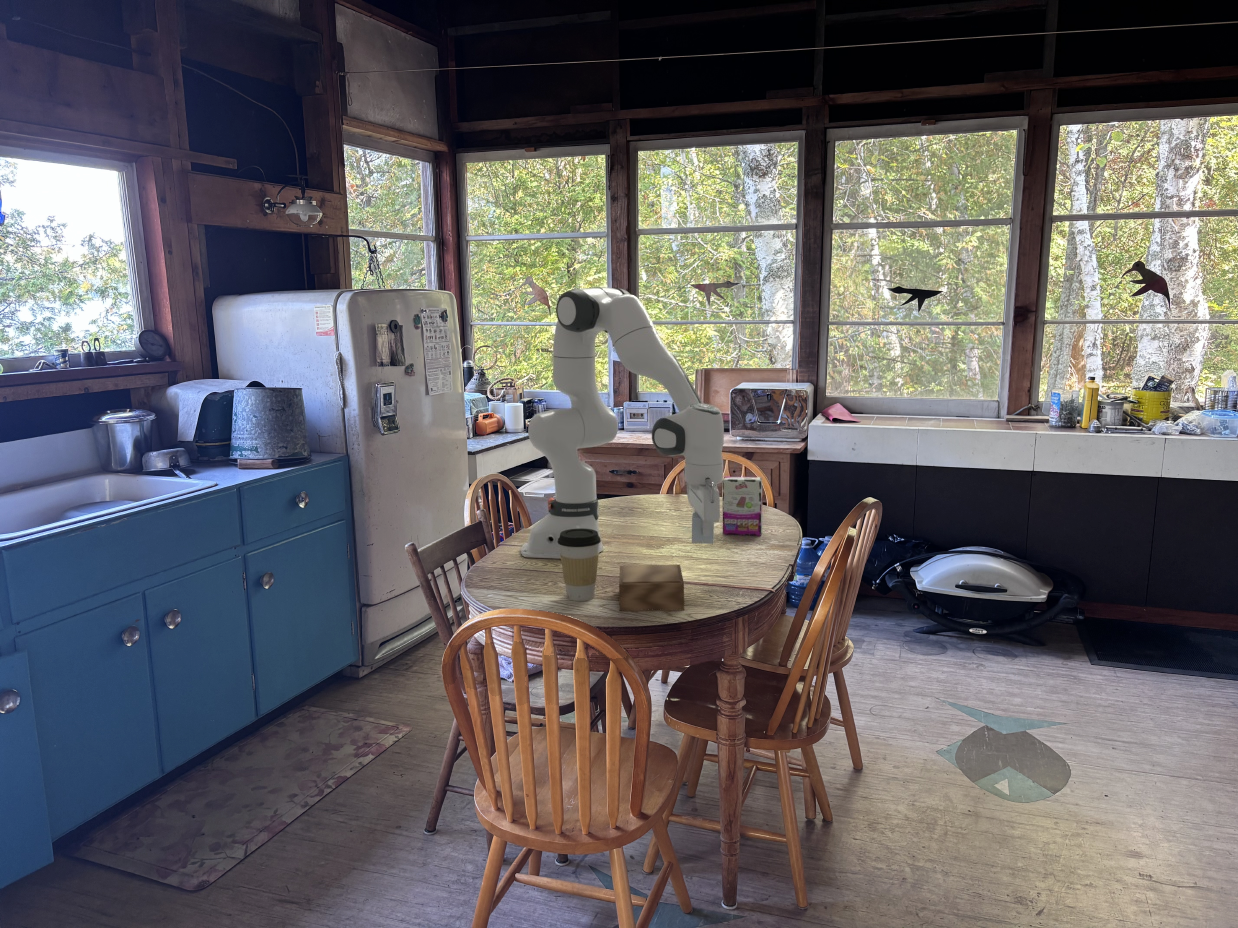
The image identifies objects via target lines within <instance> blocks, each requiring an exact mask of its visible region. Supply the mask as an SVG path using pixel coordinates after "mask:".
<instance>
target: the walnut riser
mask: <svg viewBox="0 0 1238 928" xmlns="http://www.w3.org/2000/svg"><path fill="white" fill-rule="evenodd" d="M682 572H683V571H682V568H681V564H676V563H675V564H627V565H626V564H622V565H619V573H618V574H619V576H618V596H619V601H618V602H619V612H634V611H635V612H643V611H644V612H645V611H646V612H647V611H650V612H651V611H652V612H653V611H684V610H685V583H684V577H683V573H682Z"/></svg>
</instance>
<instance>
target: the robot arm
mask: <svg viewBox="0 0 1238 928" xmlns="http://www.w3.org/2000/svg"><path fill="white" fill-rule="evenodd" d="M555 315H556V318H557V321H556V325H555V329H554V336H553V345H552V346H553V347H552V350H553V351H552V376H553V377H552V382H553V384H554V386H555V388H556V389H557V390H558V391H559V392H561V393H562V394H564V395H567V396H568V397H569V399H570V404H571V405H570V408H569V407H568V408H558V409H549V410H545V411H542V412H539V413H537V414H535V415H533V416H532V418H531V419H530V421H529V424H528V428H527V431H528V432H527V434H528V438H529V441H530V443H531V444H532V446H533V447H534V448H535V449H537V450H538V451H539V452H541V453H542V454H543V455H544V457H546V459H547V460H548V462H549V464H550V467H551V469H552V472H553V480H554V491H555V498H553V497H550V498H549V499H548V501H547V508H548V509H547V510H548V511H547V512H548V513H547V514H546V515H545V516H543V518H541V519H540V520H539V521H537V522H536V523H535V524H534V525H533V526H532V527H531V529H530V531H529V535H528V541H527V542H525V543H524V544H523V545H522V546H521V547H520V555H521V554H522V555H521V556H522V557H524V558H535V559H536V558H538V559H560V560H561V556H560V554H561V551H560V544H558V538H559V537H560V533H561V532H562V531H565V530H569V529H578V528H584V529H592V530H595V531H597V532H598V535H599V537H600V539H601V534H600V528H599V516H600V510H599V508H600V507H599V499H598V498H597V474H596V471H595V469H594V468H593V467H592V466H591V465H590V464H588V463H586V462H584V461H582V460H580V458H579V453H578V449H586V448H593V447H600V446H602V445H605V444H608V443H610V442H613V441H614V440H615V438H616V437H617V436H618V432H619V420H618V418H617V415H616V413H615V412H614V411H613V409H611V408H609V407H608V406H607V405H606V404H605V403H604V401H603V399H602V398H601V396H600V393H599V390H598V387H597V381H596V380H597V378H596V339H597V336H598V335H599V334H600V333H601V332H604V333H605V334H607V333H608V335H609V337H610V340H611V343H612V345H613V349H614V350H615V354H616V356H617V358H618V360H619V361H620V363H621V364H622V365H623V367H624V368H625V370H627V371H629V372H630V373H632V374H635V375H638V376H643V377H645V378H648V379H651V380H653V381H656V382H657V383H659V384H660V385H661V386H663V387H664V388H665V390H666V391H667V392H668V394H669V397H670V398H671V399H672V401H673V403H674V405H675V407H676V408H677V410H678V412H677V413H675V414H669V415H667V416H664V417H661V418H658V419H657V420H656V421H655V423H654V424H653V427H652V429H651V441H652V444H653V447H654V448H655V449H656V451H657V452H658V453H659V454H660V455H662V456H664V457H665V456H666V457H667V456H668V457H675V456H683V457H684V460H685V461H684V467H683V474H684V482H685V483H686V495H687V501H688V503H689V504H690V506H691V507H692V508H693V513H698V515H699V516H700V517H701V519H702V522H703V524H702V535H703V536H710V529H711V526H712V523H714V524H715V523H719V522H720V520H721V519H720V517H721V512H720V511H721V504H720V503H721V501H720V499H721V498H720V491H719V489H718V484H722V482H723V479H724V457H723V453H722V452H723V451H722V450H723V447H724V442H725V429H724V427H725V425H724V419H723V414H722V411H721V409H720V408H718V407H717V406H715V405H713V404H709V403H703V401H702V399H701V398H700V396H699V394H698V392H697V391H696V389H695V387H694V385H693V383H692V382H691V380H690V377H688V374H687V372H686V371H685V369H684V368H683V366H682V364H681V363H680V361H679V360H678V359H677V358H676V357H675V355H673V353H672V352H670V350H669V349H668V348H667V346H666V345H665V343H664V342H663V340H662V339H661V337H660V335H659V333H658V330H657V329H656V326H655V324H654V322H653V320H652V318H651V316H650V314H649V313H648V311H647V309H646V308H645V306H644V304H643V303H642V301H641V299H639V298H638V297H637V296H636V295H633V294H631V293H630V292H629V291H627V290H626V289H622V288H619V287H615V286H614V287H607V286H593V287H587V288H574V289H573V288H572V289H570V290H566V291H565V292H563V293H561V295H560V296H559V298H558V300H557V302H556V305H555ZM603 550H604V545H603V543H602V539H601V542H600V543H599V548H598V553H599V554H600V552H603Z"/></svg>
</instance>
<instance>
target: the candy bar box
mask: <svg viewBox="0 0 1238 928" xmlns="http://www.w3.org/2000/svg"><path fill="white" fill-rule="evenodd" d="M721 484H722V486H721V487H722V489H721V490H722V535H727V536H729V535H730V536H754V537H756V536H757V537H759V536H762V533H763V477H762V476H761V477H759V476H757V477H756V476H723V482H722V483H721Z"/></svg>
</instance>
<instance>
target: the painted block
mask: <svg viewBox="0 0 1238 928" xmlns="http://www.w3.org/2000/svg"><path fill="white" fill-rule="evenodd" d="M702 524H703V522H702V519H701V517H700V516H699V515H698V513H695V512H692V517H691V543H692V544H710V545H711V544H712V545H713V544H714V541H715V539H714V537H715V523H712V526H711V529H710V536H703V535H702Z"/></svg>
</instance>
